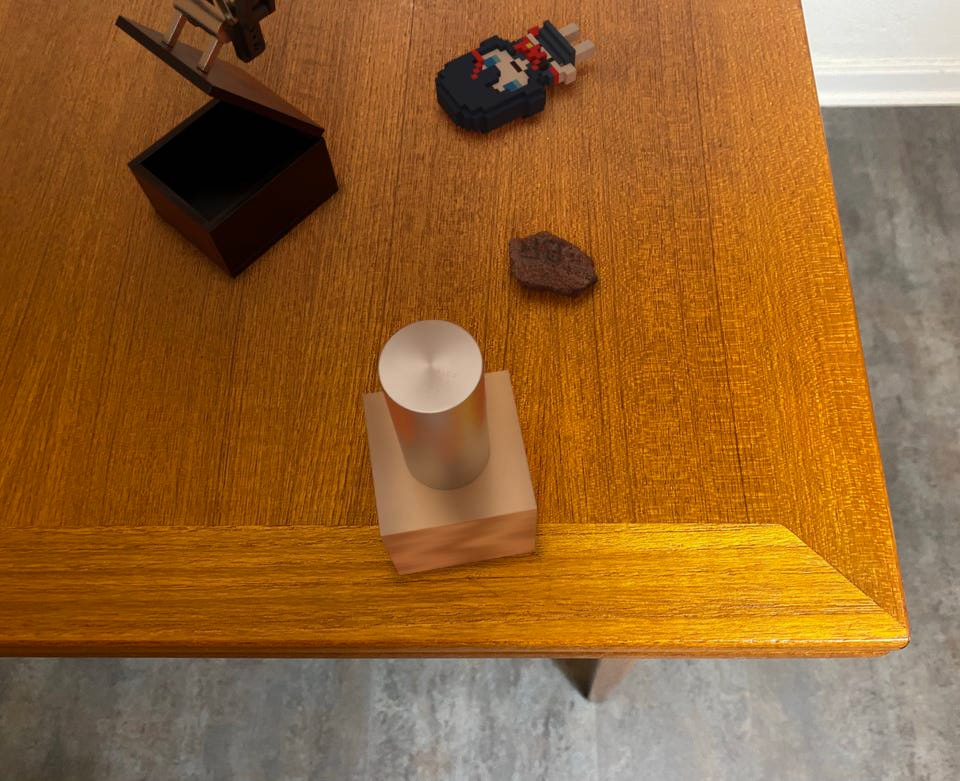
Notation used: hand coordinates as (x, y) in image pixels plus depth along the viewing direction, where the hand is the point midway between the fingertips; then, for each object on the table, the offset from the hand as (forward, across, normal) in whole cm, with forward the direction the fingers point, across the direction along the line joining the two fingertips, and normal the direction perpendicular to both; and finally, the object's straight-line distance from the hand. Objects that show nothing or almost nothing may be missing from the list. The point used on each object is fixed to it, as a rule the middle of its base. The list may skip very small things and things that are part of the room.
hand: (227, 36), depth 66 cm
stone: (+16, +26, +8) cm, 31 cm away
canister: (+6, +33, -12) cm, 36 cm away
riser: (+16, +33, -11) cm, 39 cm away
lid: (+4, 0, -2) cm, 4 cm away
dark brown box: (+16, 0, -3) cm, 16 cm away
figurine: (+16, +10, +22) cm, 29 cm away
